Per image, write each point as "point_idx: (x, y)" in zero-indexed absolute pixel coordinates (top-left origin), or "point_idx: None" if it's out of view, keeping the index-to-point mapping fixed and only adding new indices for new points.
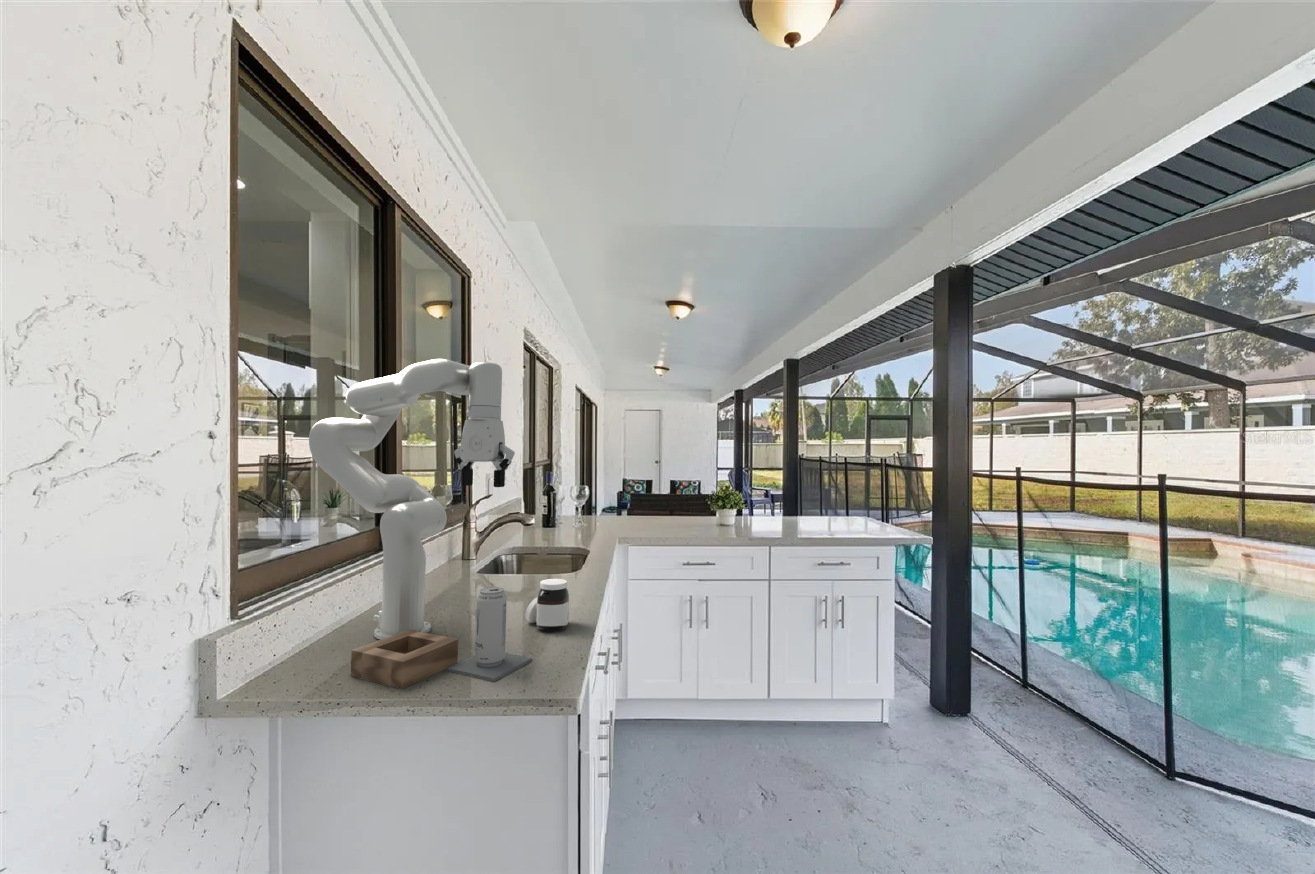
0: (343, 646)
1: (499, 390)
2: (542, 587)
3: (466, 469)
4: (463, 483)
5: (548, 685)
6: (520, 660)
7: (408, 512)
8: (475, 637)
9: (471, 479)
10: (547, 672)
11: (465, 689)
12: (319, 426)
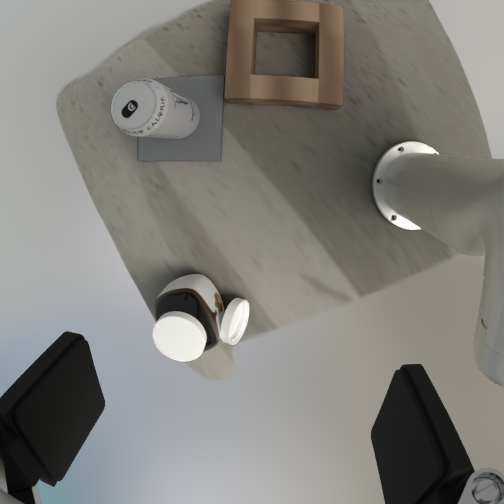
0: (441, 106)
1: None
2: (187, 315)
3: (431, 494)
4: (405, 375)
5: (84, 109)
6: (146, 144)
7: None
8: (183, 95)
9: (381, 455)
10: (102, 138)
11: (162, 48)
12: None
